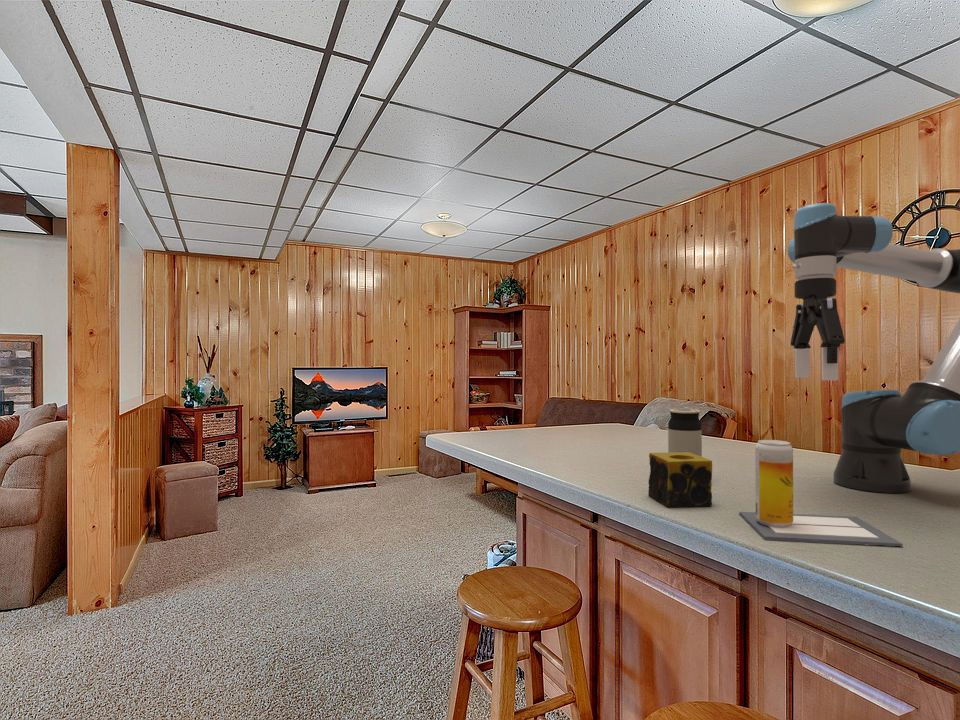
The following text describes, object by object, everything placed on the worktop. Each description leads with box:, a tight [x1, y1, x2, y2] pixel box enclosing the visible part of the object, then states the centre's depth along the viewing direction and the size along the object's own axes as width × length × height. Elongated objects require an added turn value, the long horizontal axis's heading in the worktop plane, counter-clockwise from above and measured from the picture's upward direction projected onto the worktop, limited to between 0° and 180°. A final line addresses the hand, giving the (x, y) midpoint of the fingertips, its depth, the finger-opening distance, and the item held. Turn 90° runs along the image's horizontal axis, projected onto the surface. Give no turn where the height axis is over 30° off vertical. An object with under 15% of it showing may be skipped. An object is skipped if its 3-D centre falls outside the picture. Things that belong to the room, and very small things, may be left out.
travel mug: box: [667, 408, 703, 457], centre depth 136 cm, size 8×8×18 cm
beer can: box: [754, 439, 794, 527], centre depth 98 cm, size 6×6×15 cm
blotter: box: [738, 511, 903, 548], centre depth 97 cm, size 21×15×1 cm
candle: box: [648, 452, 713, 509], centre depth 117 cm, size 10×10×10 cm
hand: (815, 379), depth 113 cm, fingers open, 13 cm apart
